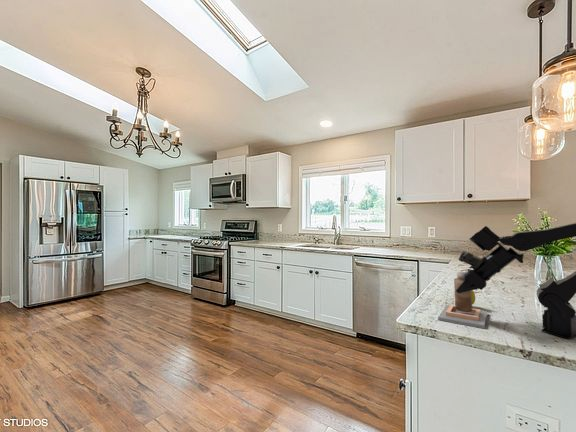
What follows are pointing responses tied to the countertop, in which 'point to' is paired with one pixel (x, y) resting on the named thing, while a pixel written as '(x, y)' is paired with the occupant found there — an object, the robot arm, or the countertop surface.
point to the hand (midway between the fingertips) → (458, 290)
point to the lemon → (473, 296)
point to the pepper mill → (462, 295)
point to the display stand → (464, 316)
